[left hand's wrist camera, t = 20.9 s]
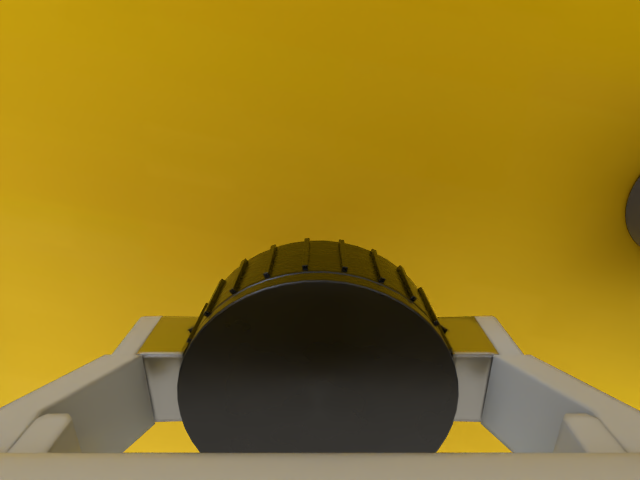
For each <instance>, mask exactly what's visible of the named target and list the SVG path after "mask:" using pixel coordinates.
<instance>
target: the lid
mask: <svg viewBox="0 0 640 480" xmlns="http://www.w3.org/2000/svg"><path fill="white" fill-rule="evenodd" d="M187 343H190V345H189V346H188V348H187V350H186V352H185V355H184V357H183V360H182V363H181V366H180V369H179V376H178V382H177V400H178V406H179V411H180V416H181V418H182V421H183V424H184V427H185V429H186V431H187V433H188V435H189V437H190V439H191V440H192V442H193V443H194V445H195V446H196V447H197V449H198V450H199V452H200V453H436V452H437V450H438V449H439V448H440V446H441V445H442V443H443V442H444V440H445V439H446V437H447V435H448V433H449V431H450V429H451V427H452V424H453V421H454V418H455V415H456V411H457V404H458V397H459V388H458V377H457V372H456V367H455V364H454V361H453V358H452V356H451V353H453V351H452V348H451V346H450V344H449V342H448V340H447V338H446V336H445V334H444V332H443V330H442V328H441V326H440V323H439V321H438V319H437V317H436V315H435V313H434V311H433V309H432V307H431V305H430V303H429V301H428V299H427V297H426V295H425V293H424V291H423V289H422V288H421V287H420V288H419V289H418V288H417V287H416V285H415V284H414V283H413V282H412V280H411V279H410V278H409V277H408V276H407V275H406V273H405V271H404V268H403V267H402V266H401V265H400V266H399V267H397V266H395V265H394V264H392V263H391V262H390V261H388V260H387V259H385V258H383V257H381V256H379V255H378V254H377V252H376V250H374V249H372V250H371V251H369V250H366V249H363V248H360V247H358V246H354V245H350V244H345V243H344V240H339V242H332V241H310V239H309V238H305V240H304V242H297V243H290V244H286V245H283V246H279V247H276V245H273V246H271V249H270V250H268V251H265V252H263V253H260V254H259V255H257V256H255V257H253V258H252V259H250V260H248V261H247V260H246V259H244V260H243V261H242V262H241V264H240V267H239V268H237V269H236V270H235V271H234V272H233V273H232V274H231V275H230V276H229V277H228V278H227V279H226V280H223V279H221V280H220V281H219V283H218V285H217V287H216V289H215V291H214V293H213V295H212V297H211V299H210V301H209V303H206V304H205V306H204V308H203V310H202V312H201V314H200V316H199V318H198V320H197V322H196V324H195V326H194V327H193V329H192V331H191V333H190V335H189V337H188V339H187Z"/></svg>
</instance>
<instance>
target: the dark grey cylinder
mask: <svg viewBox="0 0 640 480" xmlns="http://www.w3.org/2000/svg"><path fill="white" fill-rule="evenodd" d="M626 224H627V228H628V231H629V233H630V235H631V237H632V238H633V240H634V241H635V242H636V243H637V244H638V245H639V246H640V177H639V178H638V180H637V181H636V183H635V184H634V186H633V188H632V190H631V192H630V195H629V198H628V201H627V206H626Z"/></svg>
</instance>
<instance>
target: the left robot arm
mask: <svg viewBox="0 0 640 480" xmlns="http://www.w3.org/2000/svg"><path fill="white" fill-rule="evenodd" d="M198 318H199V317H184V316H144V317H141V318H140V319H139V320H138V321H137V323H136V324H135V325H134V326H133V328H132V329H131V330H130V332H129V333H128V334H127V335H126V337H125V338H124V339H123V341H122V342H121V343H120V344H119V346H118V347H117V348H116V350H115V351H114V352H113V353H112V355H104V356H102V357H100V358H98V359H96V360H94V361H92V362H90V363H88V364H86V365H84V366H82V367H80V368H78V369H76V370H74V371H72V372H70V373H68V374H66V375H64V376H62V377H60V378H58V379H56V380H54V381H52V382H51V383H49V384H47V385H45V386H43V387H41V388H39V389H37V390H35V391H33V392H31V393H29V394H27V395H25V396H23V397H21V398H19V399H17V400H15V401H13V402H11V403H9V404H7V405H5V406H3V407H1V408H0V480H640V411H639V410H637V409H635V408H633V407H631V406H629V405H627V404H625V403H623V402H621V401H619V400H617V399H615V398H613V397H611V396H610V395H608V394H606V393H604V392H602V391H600V390H598V389H596V388H594V387H592V386H590V385H588V384H586V383H584V382H582V381H580V380H578V379H576V378H575V377H573V376H571V375H569V374H567V373H565V372H563V371H561V370H559V369H557V368H555V367H553V366H551V365H549V364H547V363H545V362H543V361H541V360H540V359H538V358H536V357H534V356H532V355H524V354H523V353H522V352H521V350H520V349H519V348H518V346H517V345H516V344H515V342H514V341H513V340H512V338H511V337H510V336H509V334H508V333H507V332H506V331H505V329H504V328H503V327H502V325H501V324H500V323H499V321H498V320H497V319H496V318H495V317H493V316H471V317H437V319H438V321H439V323H440V326H441V328H442V330H443V332H444V334H445V336H446V338H447V340H448V342H449V344H450V346H451V348H452V351H453V353H451V356H452V358H453V361H454V364H455V367H456V372H457V377H458V388H459V397H458V404H457V411H456V415H455V418H454V421H471V422H481V424H482V425H483V426H484V427H485V428H486V429H487V430H489V431H490V432H491V433H492V434H493V435H494V436H495V437H496V438H497V439H499V440H500V441H501V442H502V443H503V444H504V445H505V446H506V447H507V448H508V449H510V450H511V451H512V452H513V453H123V452H124V451H125V450H126V449H127V448H128V447H129V446H131V445H132V444H133V443H134V442H135V441H136V440H137V439H138V438H140V437H141V436H142V435H143V434H144V433H145V432H146V431H147V430H148V429H150V428H151V427H152V426H153V425H154V424H155V422H165V421H182V418H181V416H180V411H179V406H178V400H177V382H178V376H179V369H180V366H181V363H182V360H183V357H184V355H185V352H186V350H187V348H188V346H189V345H190V343H187V339H188V337H189V335H190V333H191V331H192V329H193V327H194V326H195V324H196V322H197V320H198Z"/></svg>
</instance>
